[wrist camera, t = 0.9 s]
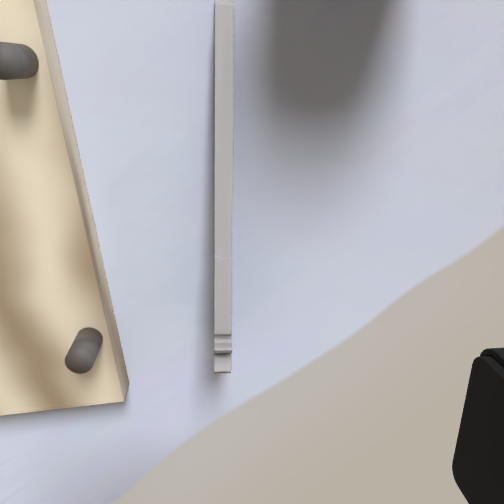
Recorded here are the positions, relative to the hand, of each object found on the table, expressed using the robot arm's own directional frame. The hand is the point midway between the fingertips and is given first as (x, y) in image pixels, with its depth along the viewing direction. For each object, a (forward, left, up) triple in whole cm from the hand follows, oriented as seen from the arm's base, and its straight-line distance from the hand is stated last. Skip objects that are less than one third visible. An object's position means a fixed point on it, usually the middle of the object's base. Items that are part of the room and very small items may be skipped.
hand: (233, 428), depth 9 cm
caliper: (0, +1, -22) cm, 22 cm away
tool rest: (+13, +1, -21) cm, 25 cm away
